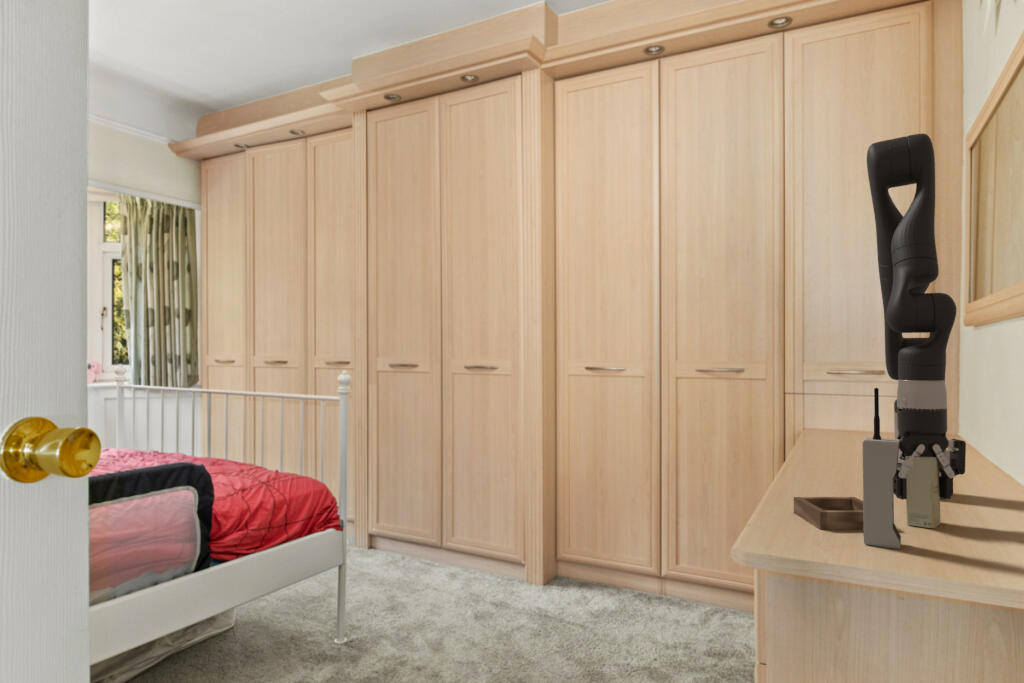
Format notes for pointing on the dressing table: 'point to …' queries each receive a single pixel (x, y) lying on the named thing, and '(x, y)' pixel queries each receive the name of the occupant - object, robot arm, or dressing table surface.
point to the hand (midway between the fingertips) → (922, 498)
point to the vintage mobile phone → (879, 486)
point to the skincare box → (923, 492)
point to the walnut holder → (831, 512)
